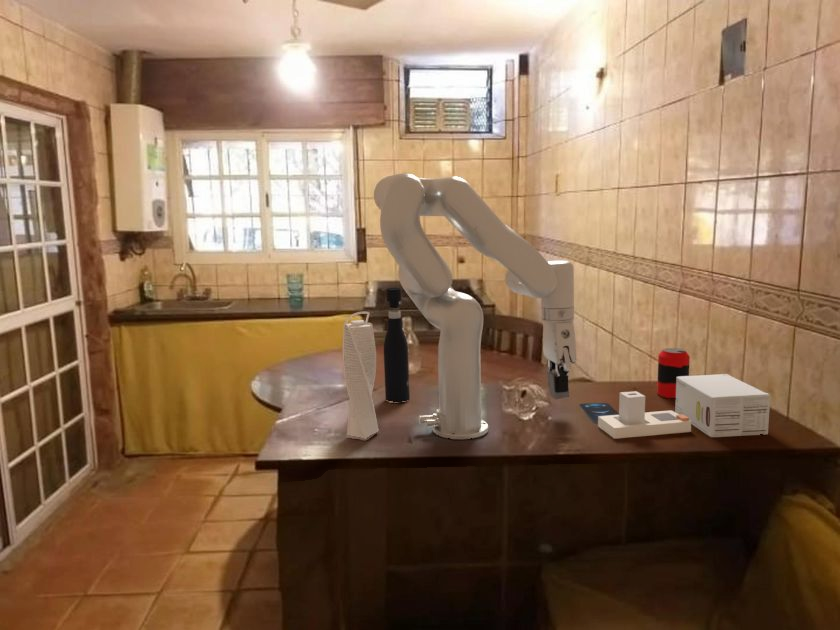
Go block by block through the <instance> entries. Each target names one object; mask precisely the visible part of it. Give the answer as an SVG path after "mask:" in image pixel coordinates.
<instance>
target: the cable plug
mask: <svg viewBox="0 0 840 630" xmlns="http://www.w3.org/2000/svg"><path fill="white" fill-rule="evenodd" d="M554 376H556V369H555V370H552V371H548V370H547V380H548V381H549V384H548V388H549V396H551V397H552V398H553V399H554V400H559V399H564V398H570V388H569V387H568V391H567V392H559V393H556V392H555V378H554Z"/></svg>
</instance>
